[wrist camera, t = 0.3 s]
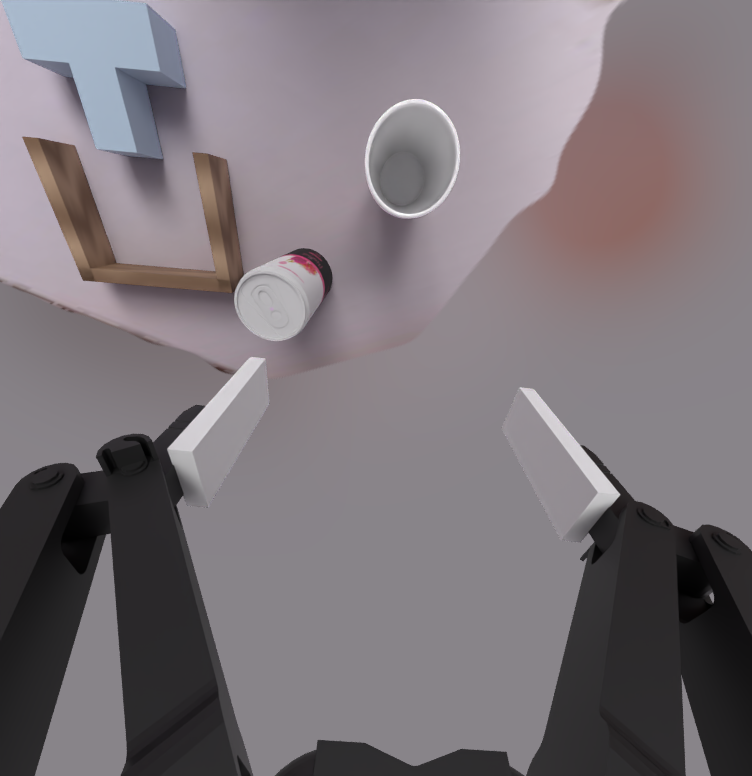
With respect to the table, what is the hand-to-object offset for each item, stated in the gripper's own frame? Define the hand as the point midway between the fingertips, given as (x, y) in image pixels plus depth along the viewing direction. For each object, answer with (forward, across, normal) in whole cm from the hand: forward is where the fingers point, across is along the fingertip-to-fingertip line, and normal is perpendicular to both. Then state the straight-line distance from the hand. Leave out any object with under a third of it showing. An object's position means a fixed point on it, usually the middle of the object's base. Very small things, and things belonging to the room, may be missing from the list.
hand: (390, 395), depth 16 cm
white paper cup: (+28, 0, +11) cm, 30 cm away
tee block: (+27, -29, +15) cm, 42 cm away
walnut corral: (+27, -28, +4) cm, 39 cm away
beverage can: (+28, -10, 0) cm, 29 cm away
